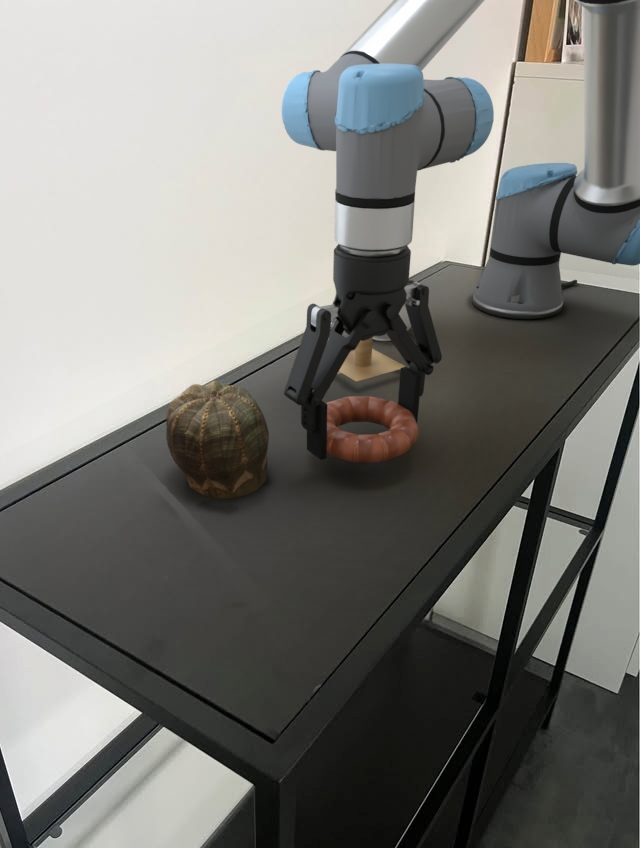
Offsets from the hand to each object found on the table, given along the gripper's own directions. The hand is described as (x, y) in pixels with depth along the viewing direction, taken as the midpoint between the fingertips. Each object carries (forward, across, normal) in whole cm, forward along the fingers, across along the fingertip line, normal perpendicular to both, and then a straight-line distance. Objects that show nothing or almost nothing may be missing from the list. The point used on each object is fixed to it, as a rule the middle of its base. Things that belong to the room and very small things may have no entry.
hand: (363, 437), depth 86 cm
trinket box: (+5, -29, -32) cm, 43 cm away
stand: (+5, -17, -22) cm, 28 cm away
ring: (-1, 0, 0) cm, 1 cm away
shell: (+5, +15, -6) cm, 17 cm away
